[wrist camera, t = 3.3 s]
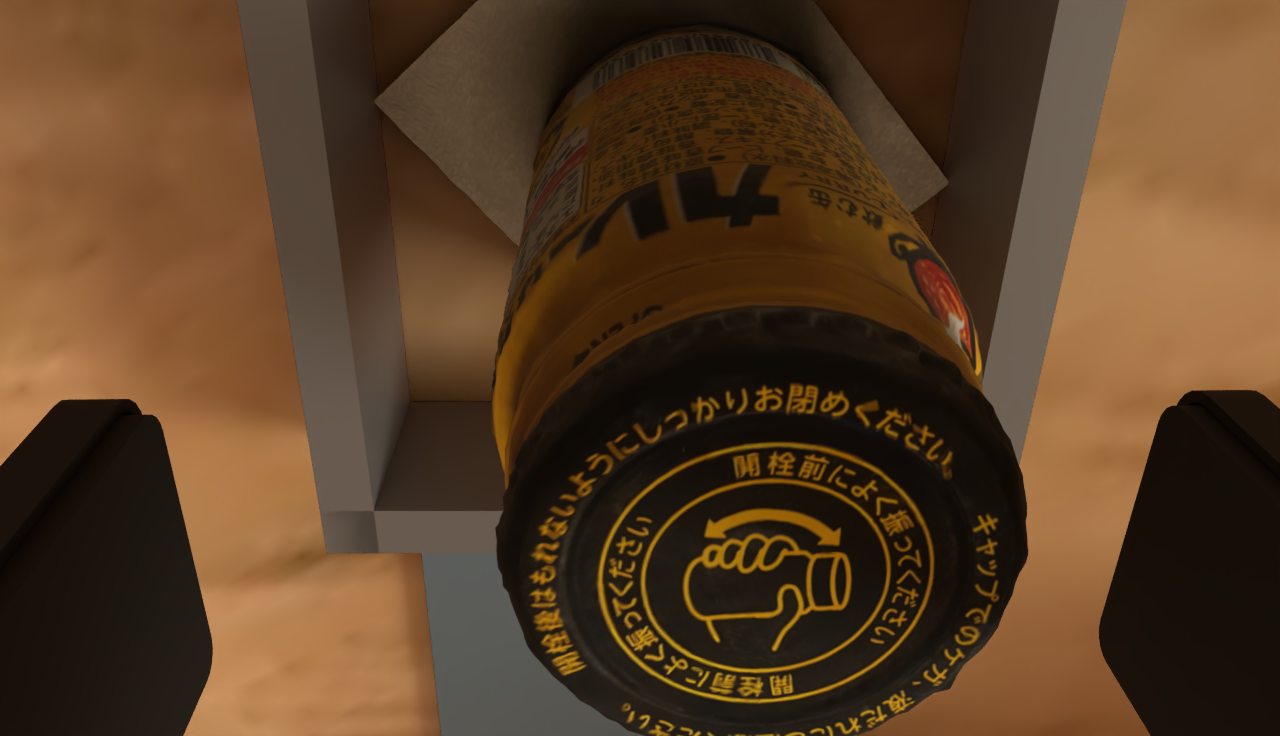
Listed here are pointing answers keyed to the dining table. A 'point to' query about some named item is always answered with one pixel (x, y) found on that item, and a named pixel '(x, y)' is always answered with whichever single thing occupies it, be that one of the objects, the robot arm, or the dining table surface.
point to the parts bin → (461, 431)
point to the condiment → (722, 366)
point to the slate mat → (493, 659)
